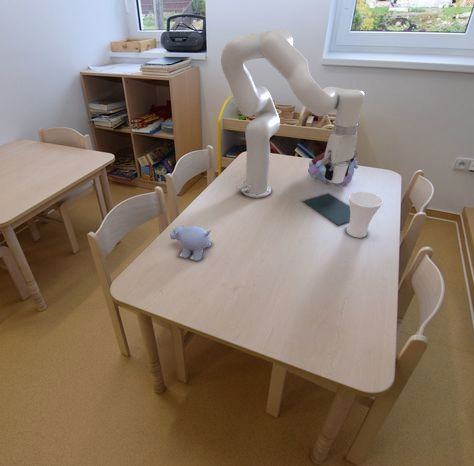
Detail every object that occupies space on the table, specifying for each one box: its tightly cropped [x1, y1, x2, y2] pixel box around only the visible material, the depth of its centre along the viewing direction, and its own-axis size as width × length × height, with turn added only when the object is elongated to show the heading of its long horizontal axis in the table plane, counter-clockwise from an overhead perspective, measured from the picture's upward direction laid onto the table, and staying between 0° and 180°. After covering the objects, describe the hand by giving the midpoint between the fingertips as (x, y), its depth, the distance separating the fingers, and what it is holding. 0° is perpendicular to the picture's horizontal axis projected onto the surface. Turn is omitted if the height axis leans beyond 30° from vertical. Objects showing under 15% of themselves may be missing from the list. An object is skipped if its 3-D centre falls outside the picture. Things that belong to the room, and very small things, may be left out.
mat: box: [303, 193, 350, 226], centre depth 129 cm, size 13×20×1 cm, turn 24°
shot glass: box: [327, 160, 349, 184], centre depth 121 cm, size 7×7×7 cm
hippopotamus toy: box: [169, 224, 213, 262], centre depth 110 cm, size 11×15×10 cm
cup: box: [346, 191, 384, 238], centre depth 112 cm, size 10×10×14 cm
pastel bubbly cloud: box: [307, 151, 359, 187], centre depth 146 cm, size 20×22×18 cm
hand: (335, 176), depth 122 cm, fingers closed on shot glass, 6 cm apart
